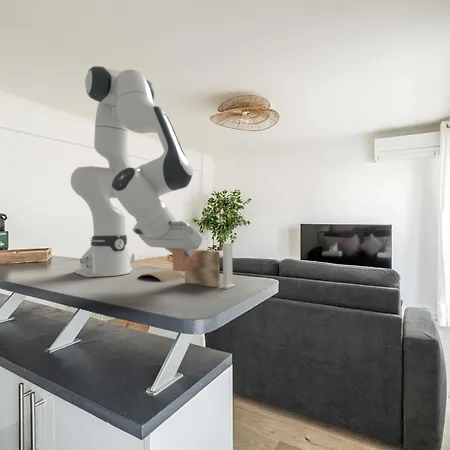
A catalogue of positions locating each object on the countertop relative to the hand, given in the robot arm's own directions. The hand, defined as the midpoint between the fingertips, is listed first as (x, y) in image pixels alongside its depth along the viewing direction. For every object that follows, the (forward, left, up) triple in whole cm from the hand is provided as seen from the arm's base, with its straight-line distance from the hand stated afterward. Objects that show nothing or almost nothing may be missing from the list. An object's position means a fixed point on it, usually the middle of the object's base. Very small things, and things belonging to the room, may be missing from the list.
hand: (183, 254), depth 93 cm
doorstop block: (0, -1, -5) cm, 5 cm away
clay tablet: (-16, +5, -10) cm, 19 cm away
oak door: (+3, +3, -9) cm, 11 cm away
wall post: (+12, +6, -9) cm, 16 cm away
